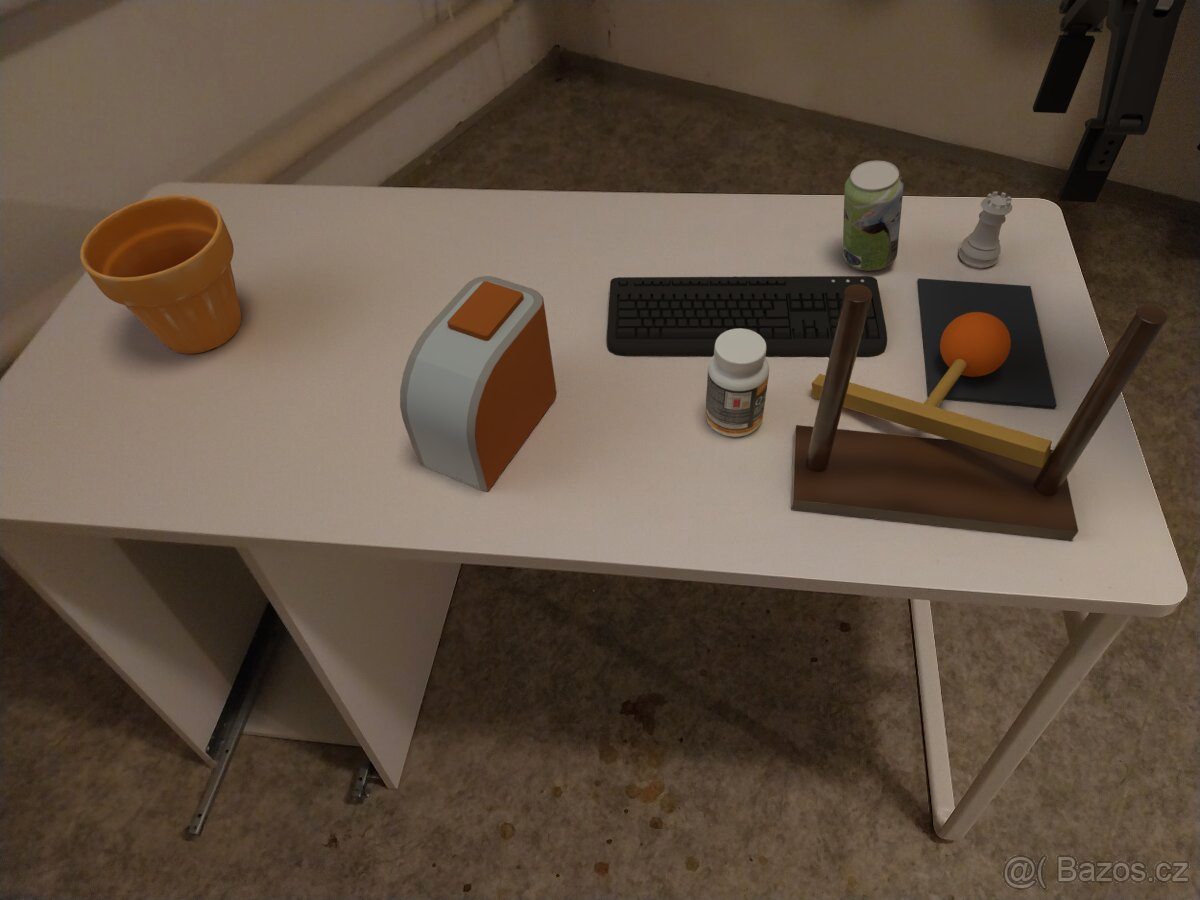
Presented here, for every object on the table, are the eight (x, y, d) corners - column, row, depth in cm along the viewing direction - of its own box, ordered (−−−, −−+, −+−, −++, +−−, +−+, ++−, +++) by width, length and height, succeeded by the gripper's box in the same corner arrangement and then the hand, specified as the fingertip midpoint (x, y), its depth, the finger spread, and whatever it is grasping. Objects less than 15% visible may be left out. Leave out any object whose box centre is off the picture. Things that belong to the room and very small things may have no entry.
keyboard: (606, 356, 90) (605, 342, 88) (611, 289, 96) (610, 275, 95) (888, 356, 87) (892, 342, 86) (872, 288, 94) (876, 274, 93)
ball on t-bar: (1102, 378, 80) (1039, 486, 73) (885, 327, 93) (814, 413, 86) (1114, 325, 75) (1048, 433, 68) (885, 278, 88) (809, 365, 81)
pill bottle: (766, 437, 81) (777, 366, 74) (707, 440, 82) (712, 369, 74) (758, 395, 85) (768, 322, 77) (702, 397, 85) (706, 325, 77)
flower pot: (280, 286, 100) (238, 192, 90) (245, 371, 91) (194, 277, 81) (166, 288, 101) (112, 195, 91) (121, 372, 92) (54, 280, 82)
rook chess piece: (994, 246, 98) (1017, 186, 91) (1000, 270, 95) (1024, 211, 89) (954, 244, 98) (974, 185, 92) (959, 269, 95) (980, 209, 89)
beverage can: (904, 268, 96) (931, 176, 87) (849, 286, 95) (870, 194, 85) (874, 237, 100) (896, 146, 90) (820, 254, 98) (837, 163, 89)
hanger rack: (1071, 540, 72) (1200, 361, 55) (791, 510, 76) (830, 332, 59) (1055, 460, 78) (1167, 274, 61) (794, 434, 81) (830, 252, 64)
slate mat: (1055, 409, 82) (1057, 406, 81) (927, 398, 83) (929, 394, 83) (1029, 289, 93) (1030, 285, 92) (917, 281, 94) (918, 278, 94)
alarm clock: (495, 364, 90) (473, 263, 79) (564, 388, 87) (551, 287, 76) (415, 462, 82) (379, 365, 71) (488, 492, 79) (462, 396, 68)
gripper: (1086, -199, 62) (997, 78, 79) (1169, -71, 47) (1037, 239, 63) (1195, -200, 61) (1082, 80, 78) (1316, -70, 46) (1143, 245, 62)
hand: (1061, 152), depth 71 cm, fingers open, 13 cm apart
